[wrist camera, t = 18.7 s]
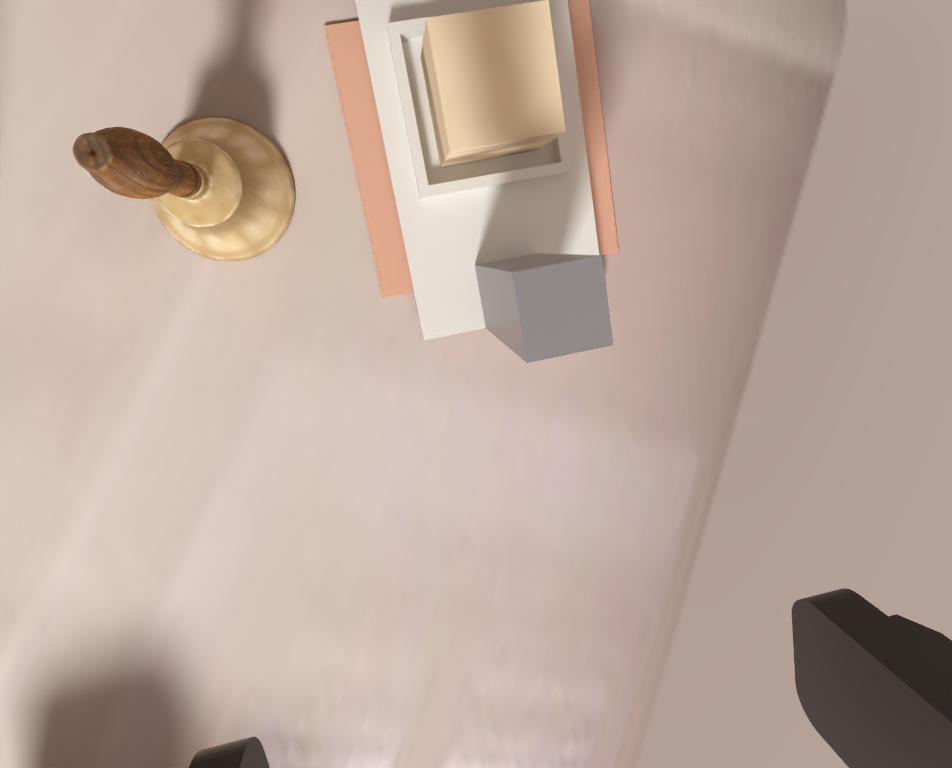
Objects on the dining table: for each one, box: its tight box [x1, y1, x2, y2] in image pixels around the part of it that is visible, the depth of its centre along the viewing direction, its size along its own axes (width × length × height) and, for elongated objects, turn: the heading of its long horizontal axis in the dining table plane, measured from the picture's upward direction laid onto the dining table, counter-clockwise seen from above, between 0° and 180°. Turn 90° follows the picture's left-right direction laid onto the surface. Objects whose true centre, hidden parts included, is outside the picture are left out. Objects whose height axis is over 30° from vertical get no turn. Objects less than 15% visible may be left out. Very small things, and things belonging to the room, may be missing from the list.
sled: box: [355, 0, 613, 363], centre depth 30 cm, size 12×20×14 cm, turn 10°
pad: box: [324, 0, 619, 297], centre depth 37 cm, size 16×16×1 cm
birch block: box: [421, 0, 566, 167], centre depth 32 cm, size 6×6×6 cm
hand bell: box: [73, 117, 295, 261], centre depth 28 cm, size 8×8×16 cm
